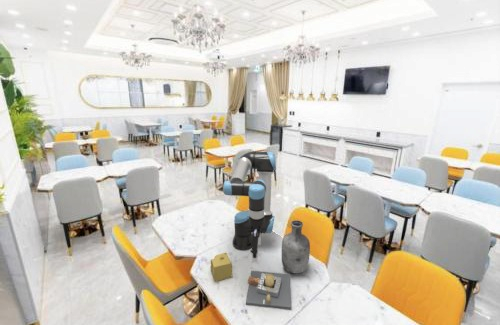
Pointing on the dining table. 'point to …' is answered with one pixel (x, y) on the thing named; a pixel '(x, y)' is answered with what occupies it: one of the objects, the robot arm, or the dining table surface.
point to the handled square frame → (262, 288)
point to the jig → (267, 300)
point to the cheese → (221, 267)
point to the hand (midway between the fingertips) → (256, 253)
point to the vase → (295, 249)
